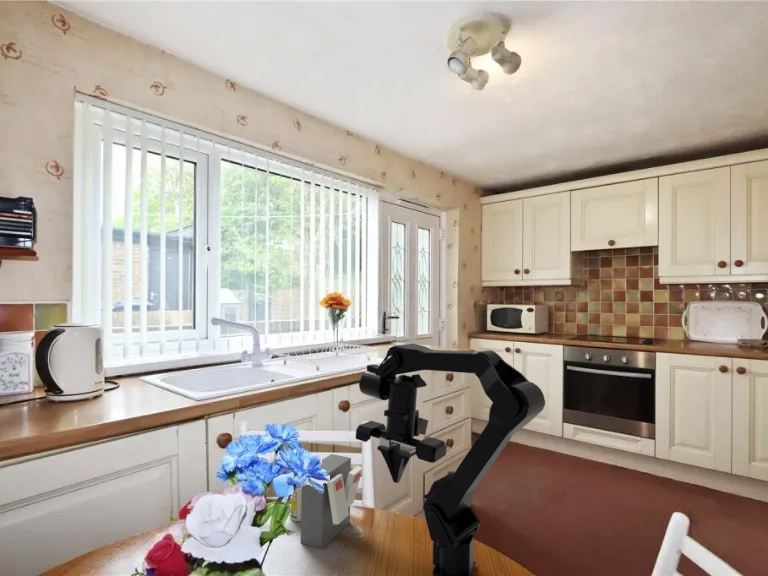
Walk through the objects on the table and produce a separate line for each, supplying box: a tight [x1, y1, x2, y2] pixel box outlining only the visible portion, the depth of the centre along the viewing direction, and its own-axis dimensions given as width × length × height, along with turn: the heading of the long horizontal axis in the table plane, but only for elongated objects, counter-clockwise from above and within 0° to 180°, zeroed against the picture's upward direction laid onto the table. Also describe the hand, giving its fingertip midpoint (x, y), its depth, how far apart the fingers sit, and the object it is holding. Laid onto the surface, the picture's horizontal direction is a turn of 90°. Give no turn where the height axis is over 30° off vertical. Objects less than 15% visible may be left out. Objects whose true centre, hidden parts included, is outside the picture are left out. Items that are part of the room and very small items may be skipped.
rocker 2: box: [345, 465, 363, 507], centre depth 87 cm, size 2×4×8 cm, turn 155°
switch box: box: [300, 453, 352, 550], centre depth 87 cm, size 5×11×14 cm, turn 155°
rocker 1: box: [327, 474, 349, 524], centre depth 82 cm, size 2×4×8 cm, turn 155°
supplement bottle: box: [289, 487, 302, 522], centre depth 93 cm, size 5×5×10 cm
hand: (396, 482), depth 84 cm, fingers closed
